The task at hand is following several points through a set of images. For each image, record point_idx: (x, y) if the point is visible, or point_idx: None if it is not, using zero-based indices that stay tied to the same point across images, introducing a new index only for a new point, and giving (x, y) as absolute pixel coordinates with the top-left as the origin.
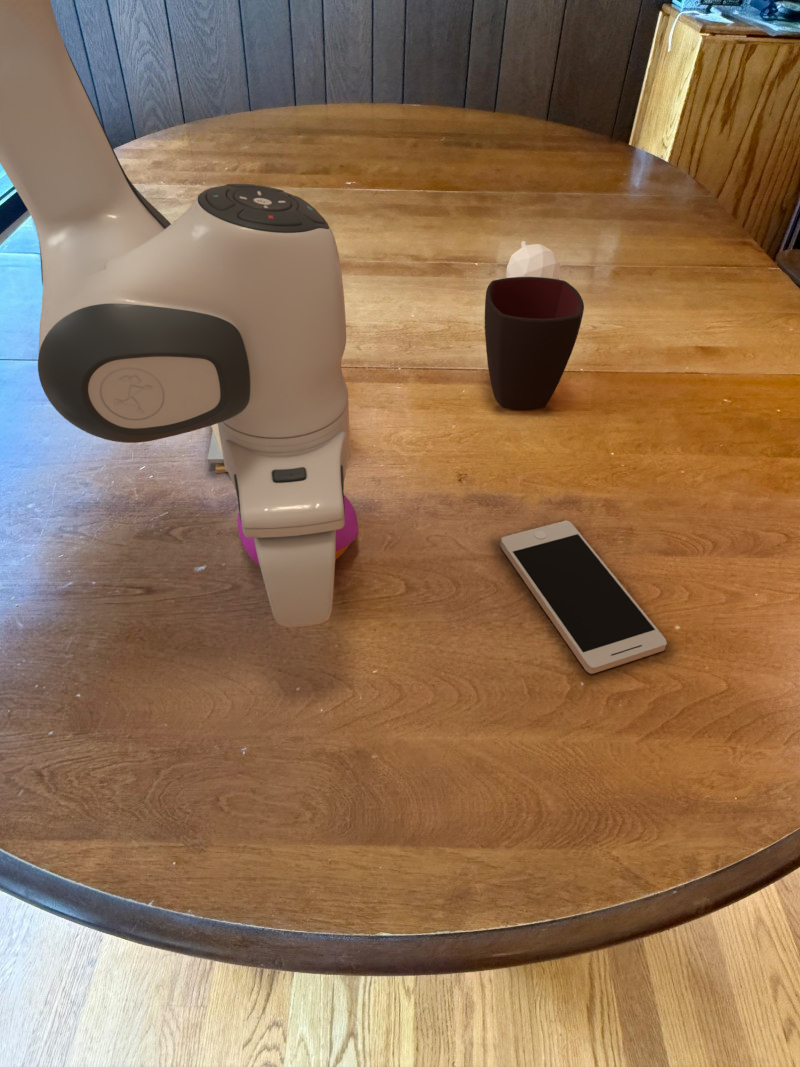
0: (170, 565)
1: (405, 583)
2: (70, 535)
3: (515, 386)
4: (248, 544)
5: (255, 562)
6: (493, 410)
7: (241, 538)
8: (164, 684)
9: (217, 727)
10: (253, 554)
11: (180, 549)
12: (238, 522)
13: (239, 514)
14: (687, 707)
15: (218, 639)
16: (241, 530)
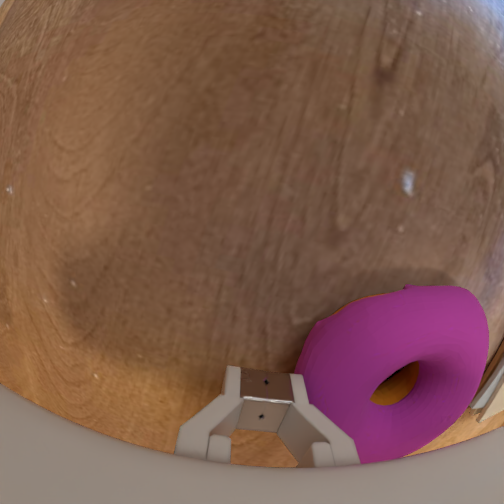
0: (431, 132)
1: (234, 444)
2: (500, 37)
3: None
4: (395, 310)
5: (355, 302)
6: None
7: (421, 295)
8: (132, 68)
9: (38, 154)
10: (367, 311)
11: (458, 163)
12: (457, 297)
13: (470, 304)
14: None
15: (202, 172)
16: (436, 303)
